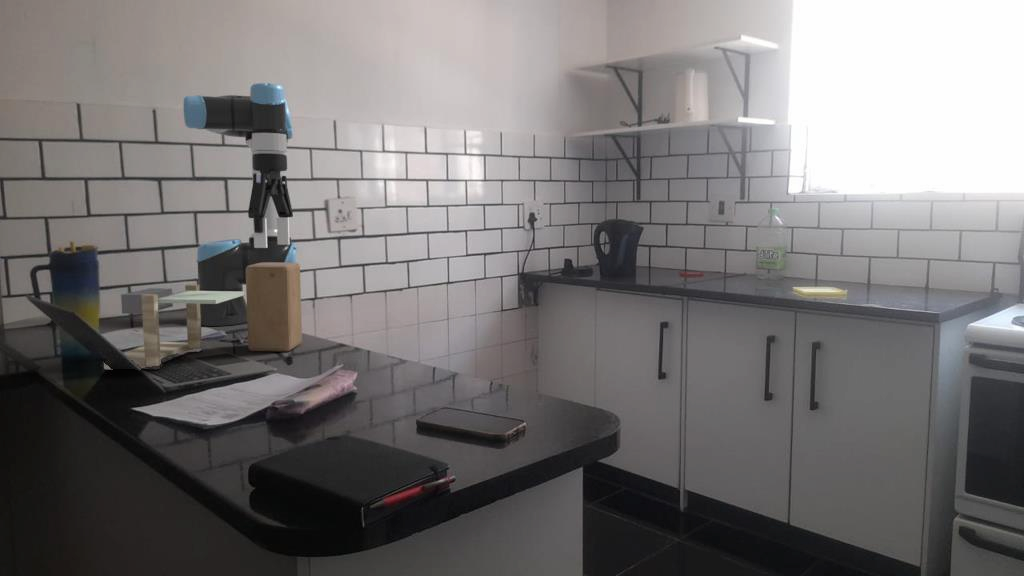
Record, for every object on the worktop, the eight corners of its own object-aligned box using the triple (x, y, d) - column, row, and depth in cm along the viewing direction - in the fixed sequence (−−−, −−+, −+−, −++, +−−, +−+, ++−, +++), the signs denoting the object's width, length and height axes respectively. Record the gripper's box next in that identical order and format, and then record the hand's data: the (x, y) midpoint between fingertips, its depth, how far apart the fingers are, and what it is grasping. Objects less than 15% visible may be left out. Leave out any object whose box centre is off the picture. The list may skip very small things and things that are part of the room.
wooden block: (290, 352, 168) (287, 265, 165) (246, 352, 168) (243, 265, 166) (303, 344, 178) (301, 262, 175) (262, 343, 178) (259, 261, 175)
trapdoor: (154, 305, 165) (153, 287, 165) (245, 306, 164) (244, 288, 163) (117, 314, 151) (116, 295, 151) (216, 316, 150) (215, 297, 149)
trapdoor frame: (154, 350, 169) (151, 283, 167) (202, 351, 168) (199, 284, 166) (104, 369, 150) (99, 294, 148) (157, 370, 149) (153, 295, 148)
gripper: (274, 157, 180) (277, 243, 182) (229, 149, 155) (233, 249, 158) (304, 157, 179) (306, 243, 182) (263, 149, 155) (267, 249, 157)
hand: (272, 246), depth 170 cm, fingers open, 13 cm apart
